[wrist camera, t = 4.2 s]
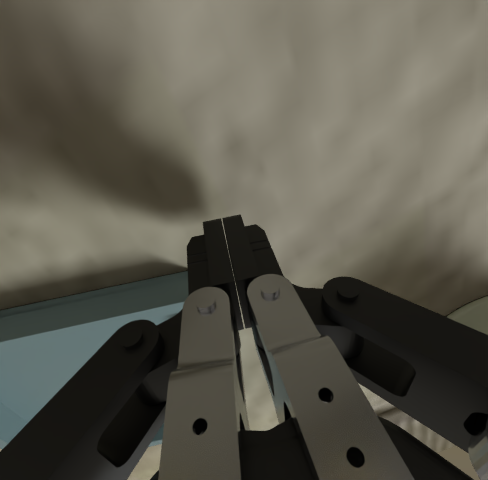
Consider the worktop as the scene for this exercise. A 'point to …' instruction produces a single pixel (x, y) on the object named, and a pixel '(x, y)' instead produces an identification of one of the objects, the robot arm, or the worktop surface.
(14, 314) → the tray
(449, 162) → the worktop surface
